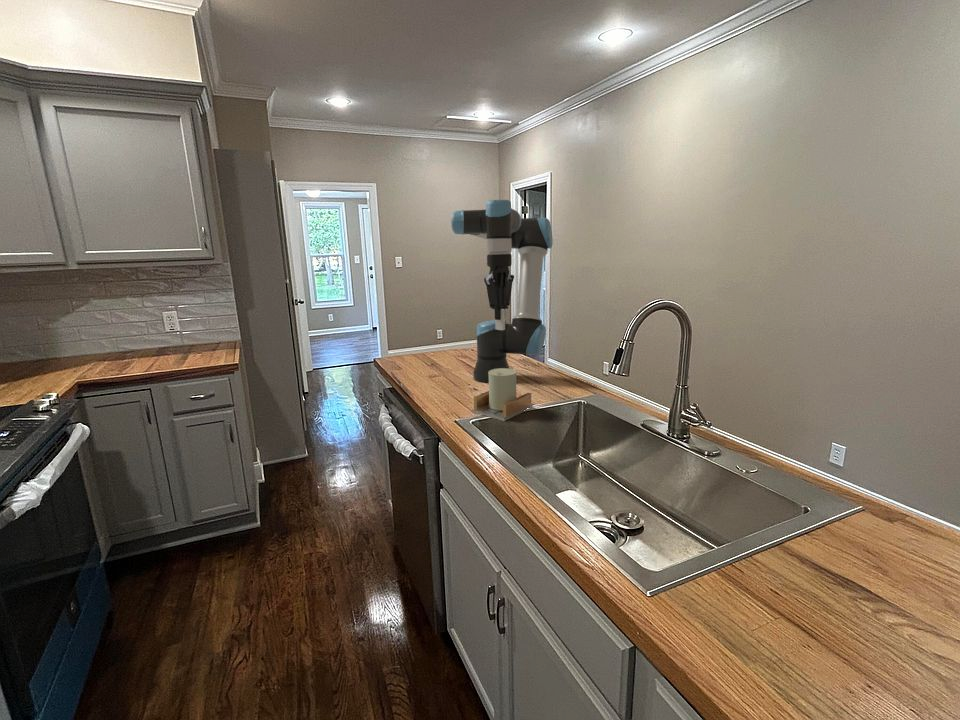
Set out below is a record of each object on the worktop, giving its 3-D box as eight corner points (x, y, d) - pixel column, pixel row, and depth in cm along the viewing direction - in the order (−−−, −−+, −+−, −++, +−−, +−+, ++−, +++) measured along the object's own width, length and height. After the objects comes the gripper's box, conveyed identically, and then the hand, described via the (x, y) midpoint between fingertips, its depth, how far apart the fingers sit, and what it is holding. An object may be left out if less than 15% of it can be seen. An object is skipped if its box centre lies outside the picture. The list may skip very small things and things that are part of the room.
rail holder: (501, 399, 166) (501, 385, 165) (532, 406, 158) (533, 392, 157) (471, 412, 154) (471, 397, 153) (504, 421, 146) (504, 405, 145)
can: (483, 408, 154) (483, 372, 151) (496, 399, 162) (495, 365, 159) (509, 412, 150) (509, 375, 147) (521, 403, 157) (521, 368, 155)
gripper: (501, 252, 152) (502, 325, 158) (476, 254, 142) (478, 331, 148) (521, 252, 148) (521, 327, 154) (496, 254, 138) (497, 334, 144)
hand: (500, 329), depth 151 cm, fingers closed
